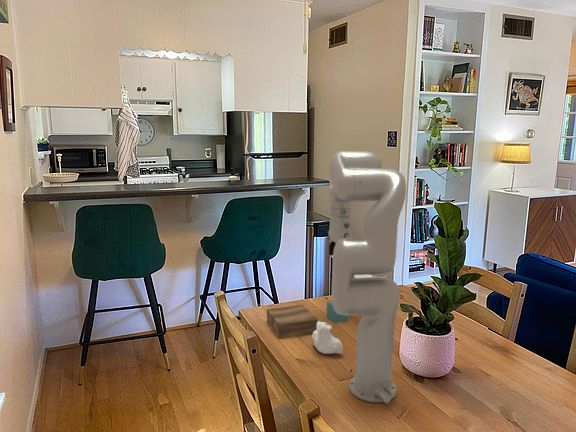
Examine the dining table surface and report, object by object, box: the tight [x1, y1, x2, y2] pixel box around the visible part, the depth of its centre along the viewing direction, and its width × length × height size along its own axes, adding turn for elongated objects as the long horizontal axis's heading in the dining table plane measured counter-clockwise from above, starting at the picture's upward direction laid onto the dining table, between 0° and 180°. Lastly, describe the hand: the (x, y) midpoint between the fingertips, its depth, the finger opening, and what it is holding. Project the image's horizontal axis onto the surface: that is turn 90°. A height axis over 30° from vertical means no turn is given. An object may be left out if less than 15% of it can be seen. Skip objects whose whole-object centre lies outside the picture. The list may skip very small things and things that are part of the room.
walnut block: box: [266, 304, 319, 340], centre depth 162 cm, size 14×14×5 cm
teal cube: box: [326, 300, 350, 323], centre depth 170 cm, size 6×6×6 cm
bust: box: [311, 320, 344, 355], centre depth 144 cm, size 12×8×11 cm
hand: (339, 258), depth 166 cm, fingers open, 9 cm apart
